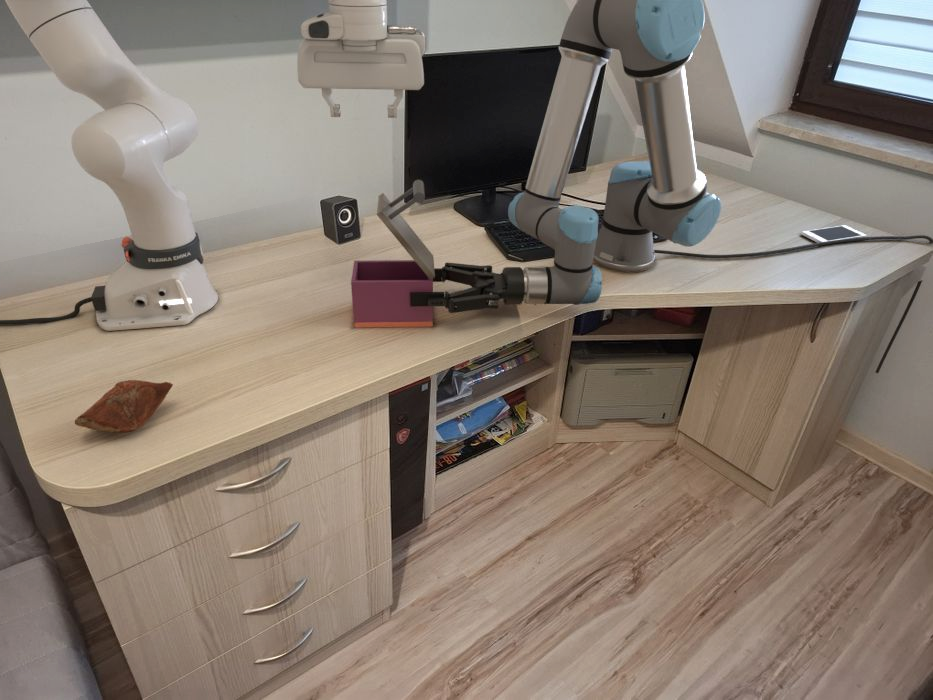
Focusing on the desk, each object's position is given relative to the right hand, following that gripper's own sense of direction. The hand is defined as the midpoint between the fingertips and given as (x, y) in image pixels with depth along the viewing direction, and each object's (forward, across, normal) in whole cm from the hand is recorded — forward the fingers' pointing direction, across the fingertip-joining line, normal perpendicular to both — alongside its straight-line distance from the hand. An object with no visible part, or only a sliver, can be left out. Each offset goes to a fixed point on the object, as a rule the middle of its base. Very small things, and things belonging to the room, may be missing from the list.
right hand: (410, 286), depth 126 cm
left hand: (+7, 0, +32) cm, 33 cm away
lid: (+1, 0, +10) cm, 10 cm away
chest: (+3, 0, -6) cm, 7 cm away
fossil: (+43, -32, -6) cm, 54 cm away
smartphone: (-112, +38, -6) cm, 119 cm away
